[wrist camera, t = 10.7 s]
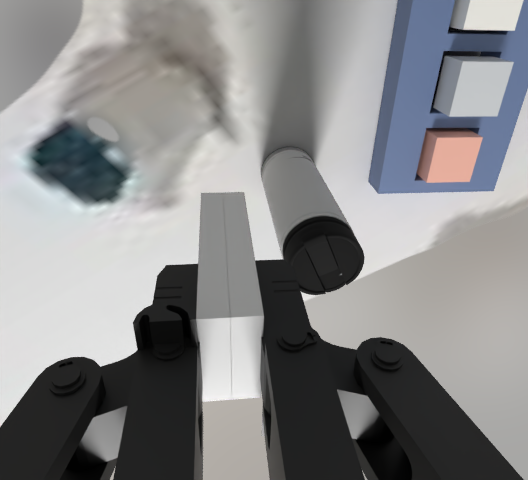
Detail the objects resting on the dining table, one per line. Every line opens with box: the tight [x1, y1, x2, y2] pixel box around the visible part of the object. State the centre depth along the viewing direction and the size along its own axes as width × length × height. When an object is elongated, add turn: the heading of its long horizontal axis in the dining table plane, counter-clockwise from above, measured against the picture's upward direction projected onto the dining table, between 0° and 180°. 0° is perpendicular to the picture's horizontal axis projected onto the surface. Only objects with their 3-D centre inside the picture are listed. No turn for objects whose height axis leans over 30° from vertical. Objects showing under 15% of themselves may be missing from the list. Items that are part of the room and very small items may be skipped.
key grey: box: [433, 56, 514, 117], centre depth 42 cm, size 5×5×4 cm
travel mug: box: [261, 147, 364, 295], centre depth 41 cm, size 6×7×20 cm
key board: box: [369, 0, 528, 194], centre depth 45 cm, size 24×14×4 cm, turn 178°
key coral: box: [416, 128, 483, 183], centre depth 47 cm, size 5×5×4 cm
